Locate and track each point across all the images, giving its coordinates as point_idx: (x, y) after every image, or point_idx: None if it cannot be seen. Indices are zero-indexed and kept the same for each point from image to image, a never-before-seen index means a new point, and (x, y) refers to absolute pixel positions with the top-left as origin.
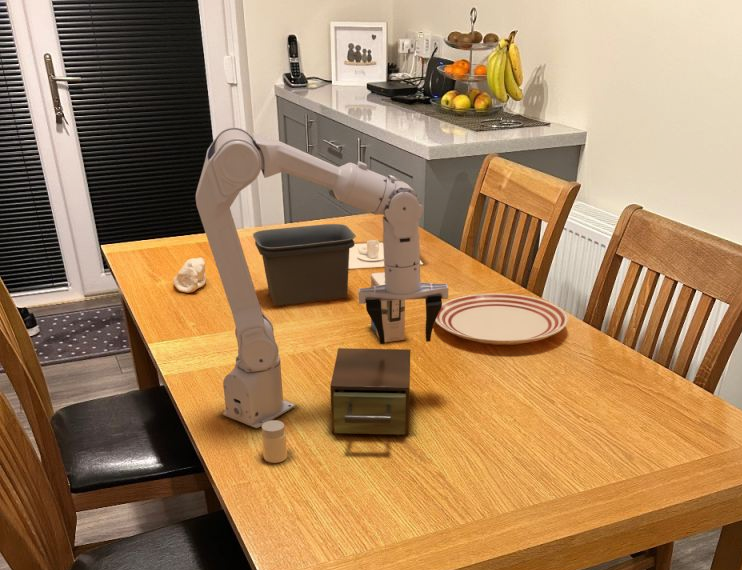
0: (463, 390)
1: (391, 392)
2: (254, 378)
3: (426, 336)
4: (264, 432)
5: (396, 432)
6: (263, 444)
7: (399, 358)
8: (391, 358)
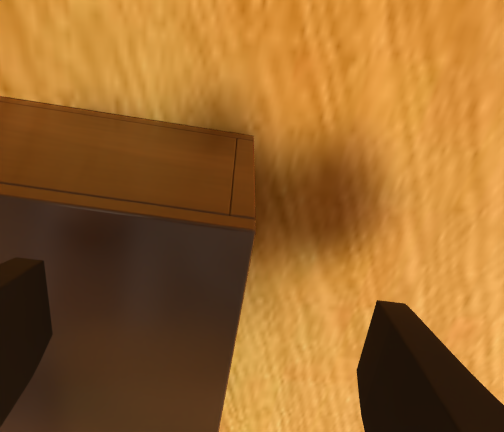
0: (484, 136)
1: None
2: None
3: (362, 419)
4: None
5: None
6: None
7: (172, 337)
8: (125, 332)
